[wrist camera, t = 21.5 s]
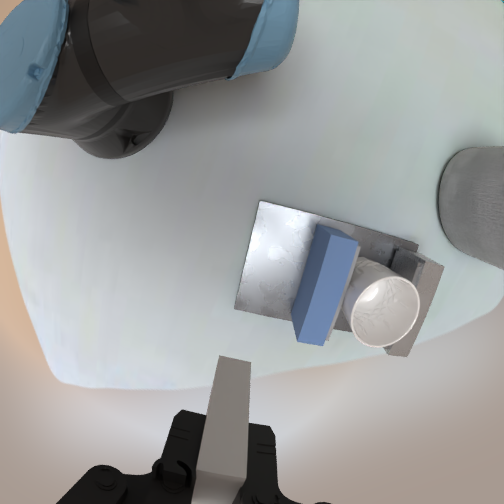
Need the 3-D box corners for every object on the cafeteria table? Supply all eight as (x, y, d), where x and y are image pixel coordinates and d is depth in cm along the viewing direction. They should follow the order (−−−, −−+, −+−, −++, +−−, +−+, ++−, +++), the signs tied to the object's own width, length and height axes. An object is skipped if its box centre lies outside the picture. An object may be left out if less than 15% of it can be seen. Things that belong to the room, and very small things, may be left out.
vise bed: (234, 305, 39) (234, 308, 38) (259, 200, 35) (260, 200, 34) (382, 333, 39) (384, 337, 39) (415, 243, 36) (418, 244, 35)
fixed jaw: (366, 328, 38) (384, 354, 31) (395, 245, 35) (421, 259, 28) (387, 331, 38) (407, 356, 31) (416, 252, 35) (444, 266, 29)
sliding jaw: (290, 314, 38) (297, 341, 31) (317, 224, 35) (331, 234, 28) (316, 319, 38) (327, 346, 31) (344, 231, 35) (363, 243, 28)
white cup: (319, 299, 37) (337, 338, 28) (343, 243, 35) (372, 265, 26) (369, 315, 38) (397, 353, 28) (393, 263, 36) (431, 289, 26)
